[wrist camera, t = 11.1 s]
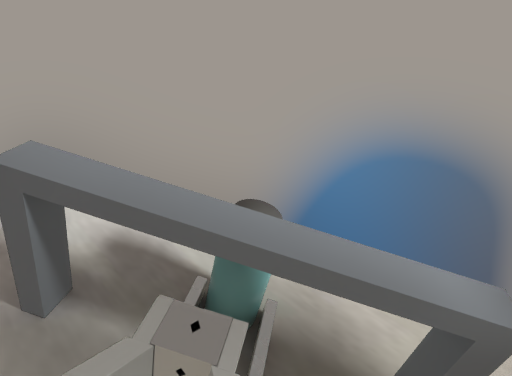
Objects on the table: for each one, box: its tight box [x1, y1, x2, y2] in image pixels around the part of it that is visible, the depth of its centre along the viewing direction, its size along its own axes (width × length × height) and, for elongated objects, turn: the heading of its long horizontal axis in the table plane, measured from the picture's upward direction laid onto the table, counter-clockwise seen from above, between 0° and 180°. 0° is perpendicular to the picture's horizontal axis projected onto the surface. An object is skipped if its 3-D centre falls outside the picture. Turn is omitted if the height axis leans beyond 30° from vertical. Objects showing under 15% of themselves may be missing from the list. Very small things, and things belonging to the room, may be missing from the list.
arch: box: [0, 140, 512, 376], centre depth 29 cm, size 39×4×17 cm, turn 77°
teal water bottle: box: [205, 199, 282, 328], centre depth 34 cm, size 6×6×14 cm
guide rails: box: [184, 275, 277, 376], centre depth 32 cm, size 10×14×2 cm
